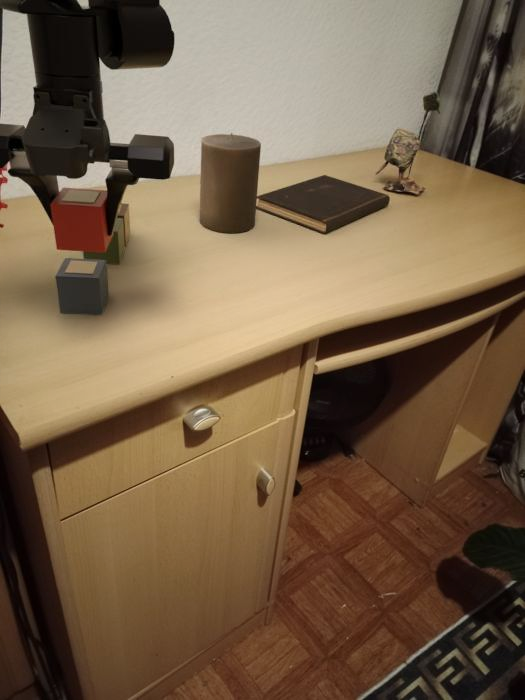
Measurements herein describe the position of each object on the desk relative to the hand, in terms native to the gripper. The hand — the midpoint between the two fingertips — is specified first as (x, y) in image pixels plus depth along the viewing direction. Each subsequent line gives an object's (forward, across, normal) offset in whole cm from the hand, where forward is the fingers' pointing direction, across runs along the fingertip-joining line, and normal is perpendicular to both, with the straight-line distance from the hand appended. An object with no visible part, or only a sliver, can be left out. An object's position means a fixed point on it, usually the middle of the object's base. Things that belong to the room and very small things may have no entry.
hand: (85, 232), depth 58 cm
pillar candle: (+12, +16, +34) cm, 40 cm away
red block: (+1, 0, 0) cm, 1 cm away
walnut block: (+11, -2, +24) cm, 27 cm away
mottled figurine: (+12, +53, +61) cm, 82 cm away
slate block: (+11, -2, +4) cm, 12 cm away
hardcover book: (+12, +34, +46) cm, 58 cm away
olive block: (+11, -2, +18) cm, 21 cm away
